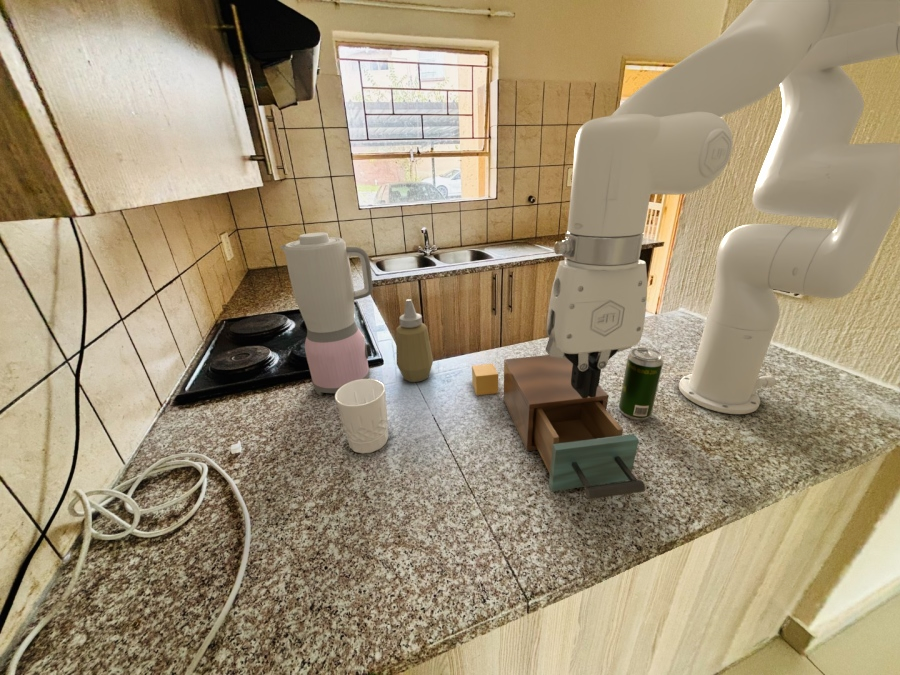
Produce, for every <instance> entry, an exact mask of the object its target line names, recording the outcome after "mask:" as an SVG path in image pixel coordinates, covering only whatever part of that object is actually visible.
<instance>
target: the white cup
mask: <svg viewBox="0 0 900 675" xmlns="http://www.w3.org/2000/svg"><path fill="white" fill-rule="evenodd" d="M386 396H387V395H386V387H385V384H384V383H383V382H381V381H380V380H377V379H375V378H368V379H359V380H355V381H351V382H349V383H347V384H345V385H343V386H342V387H340V388H339V389H338V390H337V392H336V393H334V400H335V404H336V408H337V411H338V414H339V418H340V422H341V425H342V428H343V431H344V434H345V436H346V439H347V443H348V447H349V449H351V450H352V451H353V452H355V453H358V454H363V455H364V454H370V453H371V454H372V453H374V452H376V451H379V450H381V449H382V448H383V447H384V446H385V445H386V444H387V442H388V439H389V427H388V407H387V399H386V398H387V397H386Z"/></svg>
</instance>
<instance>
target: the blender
mask: <svg viewBox="0 0 900 675" xmlns="http://www.w3.org/2000/svg"><path fill="white" fill-rule="evenodd" d="M279 248H280V249H281V250H282V251H283V253H284V254H285V255H284V256H285V260H286V266H287V271H288V276H289V281H290V284H291V288H292V293H293V296H294V300H295V302H296V305H297V307H298V310H299V312H300V315H301V317H302V319H303V321H304V324H305V327H306V337H305V340H304V352H305V356H306V361H307V364H308V365H307V366H308V369H309V374H310V376H311V383H312V384H311V385H312V386H313V388H314V391H315V393H316V394H317V395H319V396H323V395H324V393H325V394H335V393H336V392H337V390H338V389H339V388H340V387H342V386H343V385H345V384H347V383H349V382H351V381H355V380H359V379H370V378H369V377H370V374H371V373H370V367H369V360H368V359H369V357H372V356H373V354H372V346H371V344H370V343H367V342H365V341H366V338H365V335H364V334H363V333H362V331H361V329H360V328H359V327H358V325H357V324H356V320H355V300H360V299H363V298H366V297H369V296H370V295H372V293H373V289H374V288H373V286H374V285H373V275H372V269H371V261H370V257H369V254H368V252H366V250H365V249H363V248H361V247H358V246H357V247H356V246H347V244H346V241H345V239H343V238H342V237H334V236H330V237H329V233H328V232H322V231H321V232H308V233H303V234H300V235H299V236H298V240H294V241H290V242H288V243H286V244H283V245H280V246H279ZM349 257H358V258H359V260H360V266H361V273H362V279H363V288H362V289H358V290H355V286H354V279H353V274H352V267H351V261H350V258H349Z"/></svg>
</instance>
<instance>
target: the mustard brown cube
mask: <svg viewBox="0 0 900 675" xmlns="http://www.w3.org/2000/svg"><path fill="white" fill-rule="evenodd" d="M471 380H472V381H471V382H472V387H473V390H474V393H475V396H484V395H493V394H498V393H499V373H498V371H497V369H496V367H495V365H494V363H485V364H484V363H483V364H476V365H475V364H474V365H473V364H472V365H471Z"/></svg>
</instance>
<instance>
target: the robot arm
mask: <svg viewBox="0 0 900 675" xmlns="http://www.w3.org/2000/svg"><path fill="white" fill-rule="evenodd" d="M896 56H900V0H752V1H751V2H749V4H748V5H747V6H746V7H745V8H744V9H743V10H742V12H741V13H739V15H738V16H737V17H736V18H735V19H734V20H733V21H732V22H731V23H730V24H729V25H728V27H727V28H726V29H725V30H724V31H723V32H722V33H721V34H720V35H719V36H718V37H716V38H715V39H714V40H712V41H710V42H708V43H707V44H705V45H703V46H702V47H701V48H699V49H697V50H696V51H694V52H692V53H690V54H689V55H688V56H686V57H685V58H683V59H682V60H680V61H679V62H677V63H675V65H673V66H671V67H670V68H668V69H666V70H665V71H663V72H661V73H660V74H659V75H657V76H655V77H654V78H652V79H651V80H649V81H648V82H646V84H644V85H642V86H641V87H640V88H638V89H637V90H636V91H635V92H633V93H632V94H631V95H630V96H629V97H628V98H626V100H625V101H623V102H622V104H620V106H619V107H618V108H617V109H615V111H614V112H612V114H611V115H606V116H601V117H597V118H592V119H590V120H588V121H586V122H584V123H583V124H582V125H581V126H580V127H579V129H578V131H577V133H576V137H575V143H574V152H573V163H572V164H573V165H572V173H571V174H572V176H571V186H570V187H571V188H570V197H569V208H568V220H567V221H568V222H567V232H566V233H565V234H564V239H563V240H561V241H556V242H555V243H554V253H555V255H562V256H563V257H564V260H560V261H559V262H558V266H557V269H556V272H555V275H554V280H553V283H552V287H551V292H550V297H549V303H548V310H547V318H546V336H547V338H548V340H547V343H546V346H545V352H546V353H547V355H550V356H551V357H556V358H567V359H568V360H569V361H570V362H571V363H573V367H572V376H571V385H572V387H573V388H574V389H575V390H576V391H577V392H578V393H579V395H580V396H581V397H582V398H587V397H588V396H590V397H595V396H596V391H597V387H598V386H600V380H601V372H602V370H603V369H605V368H606V367H607V365H608V362H609V360H610V359H612V358H613V356H615V354H617V353H619V352H623V351H625V350H628V349H632V347H634V346H636V345H638V344H639V343H640V341H641V340H642V337H643V332H644V326H645V319H646V310H647V302H648V301H647V300H648V272H647V263H646V261H645V260H642V259H640V257H641V251H642V245H643V241H644V235H645V233H644V232H645V227H646V221H647V217H648V210H649V204H650V201H651V200H650V199H651V195H663V196H664V195H665V196H666V195H667V196H668V195H669V196H670V195H671V196H673V195H675V196H678V195H679V196H680V195H688V194H692V193H695V192H698V191H701V190H702V189H704V188H706V187H707V186H709V185H710V184H712V183H713V182H714V181H716V179H717V178H719V176H720V175H721V174H722V173H723V171H724V170H725V168H726V167H727V165H728V163H729V161H730V158H731V156H732V152H733V145H734V144H733V143H734V139H733V133H732V130H731V127H730V126H729V124H728V123H727V122H726V121H725V119H723V117H725V116H728V115H731V114H733V113H735V112H738V111H740V110H742V109H745V108H747V107H749V106H751V105H753V104H756V103H758V102H759V101H761V100H763V99H765V98H766V97H767V96H769V95H770V94H771V93H772V92H774V91H776V89H777V88H778V87H780V92H781V98H782V99H781V100H782V109H781V110H782V111H781V117H780V121H779V123H778V126H777V130H776V132H775V134H774V137H773V140H772V142H771V144H770V147H769V149H768V152H767V155H766V156H765V160H764V162H763V165H762V167H761V169H760V173H759V175H758V176H757V180H756V183H755V186H754V190H753V194H752V205H753V207H754V208H755V210H756V211H759V212H760V213H763V214H767V215H774V216H775V215H776V216H785V217H797V218H798V217H799V218H812V219H814V218H815V219H827V220H828V219H829V220H834V221H836V223H837V224H836V228H825V227H824V228H823V227H814V226H813V227H811V226H802V225H791V224H778V223H761V222H760V223H749V224H744V225H741V226H737V227H735V228H733V229H732V230H730V231H729V232H728V233H726V234H725V236H724V237H723V238H722V240H721V241H720V244H719V245H718V248H717V252H716V259H715V280H714V281H715V282H714V287H713V293H712V297H711V302H710V305H709V309H708V313H707V316H706V320H705V323H704V328H703V332H702V335H701V338H700V342H699V346H698V349H697V353H696V356H695V359H694V360H695V361H694V363H693V368H692V371H691V373H690V374H686V375H684V376H683V377H681V378H680V380H679V383H678V389H679V391H680V393H681V394H682V395H683V396H684V397H685V398H686V399H688V400H689V401H691V403H693V404H696V405H698V406H700V407H702V408H704V409H707V410H709V411H710V410H711V411H714V412H718V413H722V414H729V415H746V414H751V413H753V412H756V411H757V410H758V409H759V406H760V404H761V399H760V396H759V395H758V393H757V391H758V390H759V389H761V388H762V387H765V388H766V387H774V386H776V384H777V379H776V378H775V377H774V376H773V375H762V376H759V375H760V374H759V373H760V372H761V369H762V365H763V363H764V360H765V359H766V358H765V357H766V355H767V352H768V350H769V347H770V344H771V342H772V339H773V336H774V333H775V330H776V328H777V325H778V322H779V319H780V305H779V302H778V299H777V297H776V295H775V292H774V290H776V291H781V292H786V293H792V294H796V295H802V296H807V297H813V298H820V299H827V300H830V299H831V300H832V299H833V300H834V299H839V298H843V297H845V296H847V295H849V294H850V293H852V292H853V291H854V290H855V289H856V288H857V286H858V285H859V284H860V283H861V281H862V280H863V278H864V276H865V275H866V273H867V271H868V269H869V268H870V266H871V264H872V262H873V260H874V258H875V256H876V254H877V252H878V250H879V248H880V246H881V244H882V243H883V241H884V238H885V237H886V235H887V232H888V231H889V229H890V227H891V225H892V223H893V221H894V219H895V217H896V215H897V213H898V211H899V209H900V143H898V142H872V143H871V142H868V143H853V144H851V143H850V142H851V139H852V138H853V136H854V133H855V130H856V129H857V125H858V123H859V121H860V119H861V117H862V115H863V112H864V108H865V101H864V97H863V95H862V93H861V91H860V89H859V88H858V86H857V83H856V82H855V81H854V80H853V79H852V77H850V76H849V74H847V72H846V71H845V70H844V68H843V67H842V66H847V65H853V64H858V63H863V62H869V61H874V60H880V59H885V58H890V57H896Z"/></svg>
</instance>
